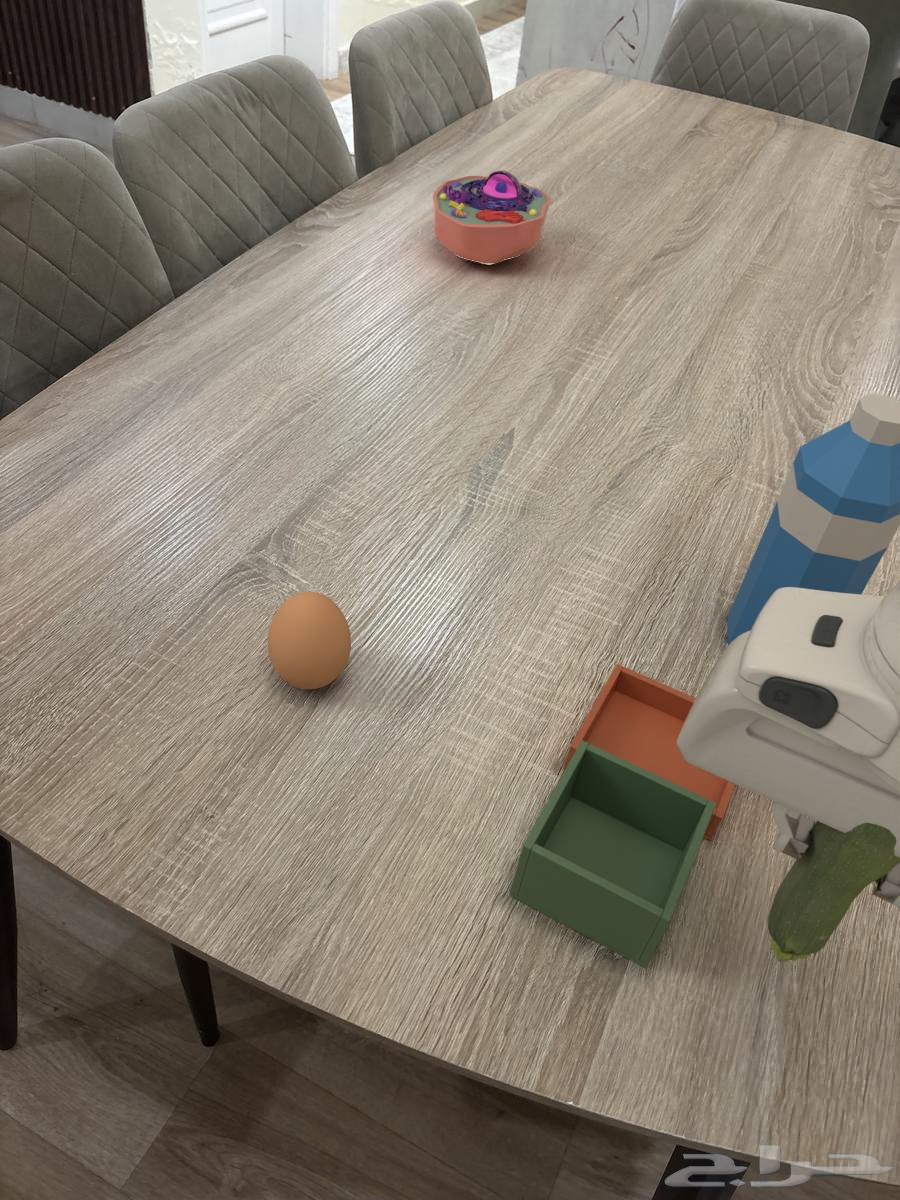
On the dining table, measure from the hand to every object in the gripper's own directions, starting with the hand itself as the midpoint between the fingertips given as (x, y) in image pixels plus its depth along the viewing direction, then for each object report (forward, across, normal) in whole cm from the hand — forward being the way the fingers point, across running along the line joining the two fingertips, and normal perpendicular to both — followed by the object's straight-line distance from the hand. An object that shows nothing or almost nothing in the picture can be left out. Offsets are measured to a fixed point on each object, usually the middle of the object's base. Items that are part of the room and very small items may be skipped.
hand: (836, 867), depth 50 cm
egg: (+16, +40, -8) cm, 44 cm away
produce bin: (+17, +12, -4) cm, 21 cm away
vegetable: (+9, 0, 0) cm, 9 cm away
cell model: (+16, +65, -91) cm, 114 cm away
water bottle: (+17, +7, -35) cm, 39 cm away
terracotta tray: (+17, +12, -16) cm, 26 cm away
